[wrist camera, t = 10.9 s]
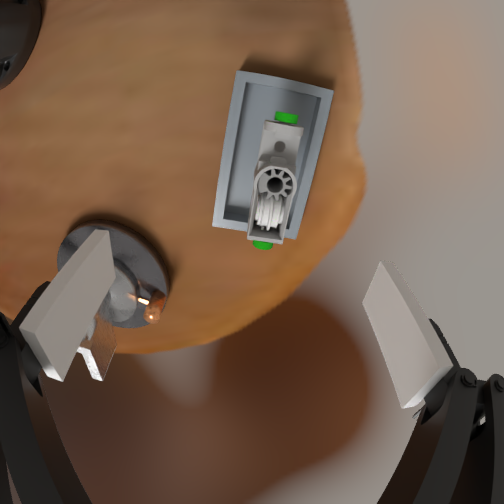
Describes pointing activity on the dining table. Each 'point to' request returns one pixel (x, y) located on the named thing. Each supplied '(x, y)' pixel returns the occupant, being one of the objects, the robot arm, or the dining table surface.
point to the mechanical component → (274, 180)
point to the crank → (109, 320)
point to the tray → (249, 137)
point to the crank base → (132, 256)
